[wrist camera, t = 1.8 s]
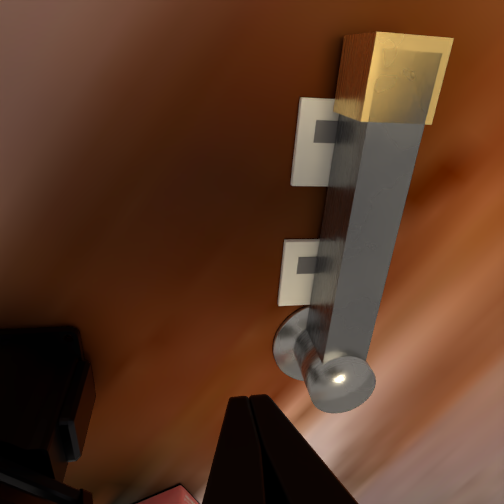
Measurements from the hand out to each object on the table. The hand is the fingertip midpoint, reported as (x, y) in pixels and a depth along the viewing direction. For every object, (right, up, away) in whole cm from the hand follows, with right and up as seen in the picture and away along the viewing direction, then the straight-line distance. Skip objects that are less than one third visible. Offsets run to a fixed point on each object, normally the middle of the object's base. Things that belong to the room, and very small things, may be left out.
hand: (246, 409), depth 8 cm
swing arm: (+5, +4, +12) cm, 14 cm away
